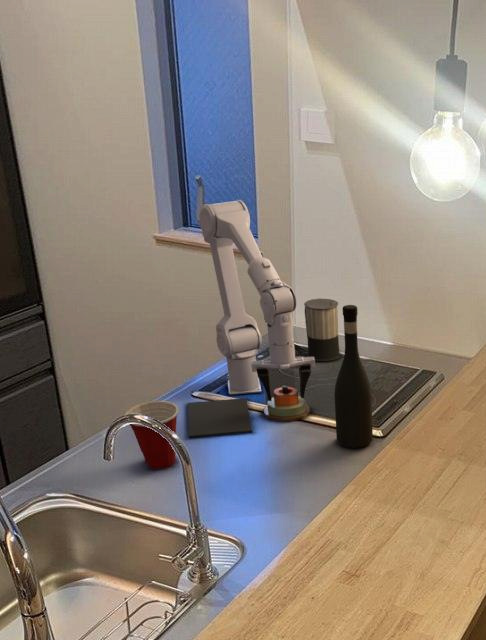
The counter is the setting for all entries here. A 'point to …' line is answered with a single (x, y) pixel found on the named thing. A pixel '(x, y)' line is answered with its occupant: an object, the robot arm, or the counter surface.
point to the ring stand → (286, 409)
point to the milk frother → (321, 330)
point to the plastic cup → (155, 433)
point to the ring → (285, 397)
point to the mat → (218, 418)
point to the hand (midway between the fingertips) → (286, 398)
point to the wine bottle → (352, 390)
